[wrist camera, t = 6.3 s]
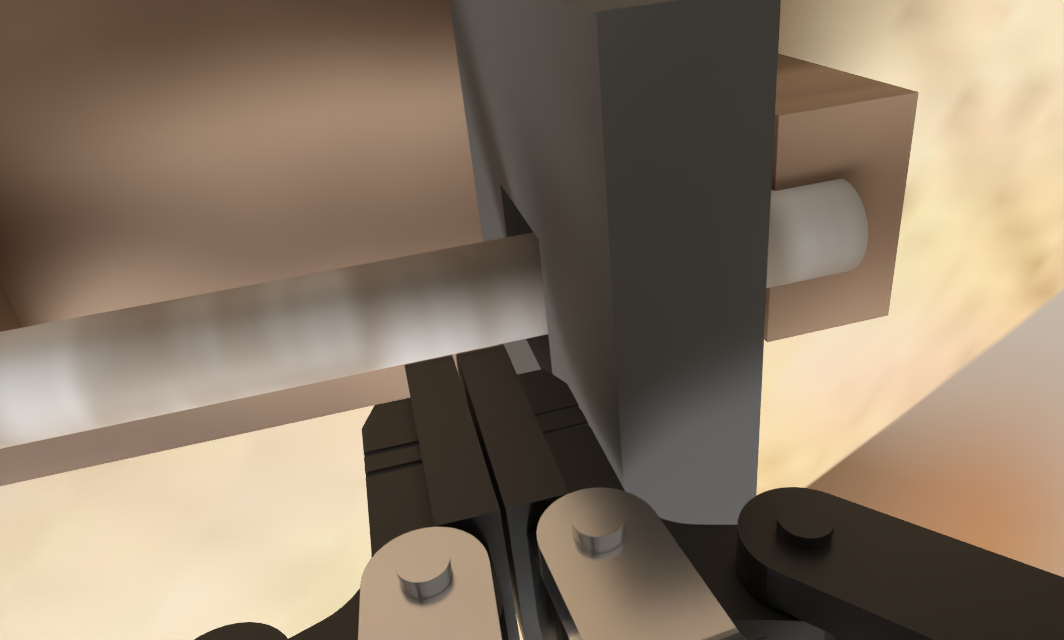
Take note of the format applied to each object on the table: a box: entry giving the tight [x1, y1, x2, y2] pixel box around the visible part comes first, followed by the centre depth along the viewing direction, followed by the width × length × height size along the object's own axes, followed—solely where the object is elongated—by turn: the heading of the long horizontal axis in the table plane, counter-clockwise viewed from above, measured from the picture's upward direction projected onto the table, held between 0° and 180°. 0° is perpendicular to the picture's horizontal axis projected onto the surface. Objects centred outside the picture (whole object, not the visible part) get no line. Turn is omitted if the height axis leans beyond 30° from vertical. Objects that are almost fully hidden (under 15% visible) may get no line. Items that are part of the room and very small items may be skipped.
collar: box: [449, 0, 781, 525], centre depth 15 cm, size 11×2×11 cm, turn 5°
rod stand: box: [0, 0, 918, 486], centre depth 17 cm, size 12×24×9 cm, turn 95°
